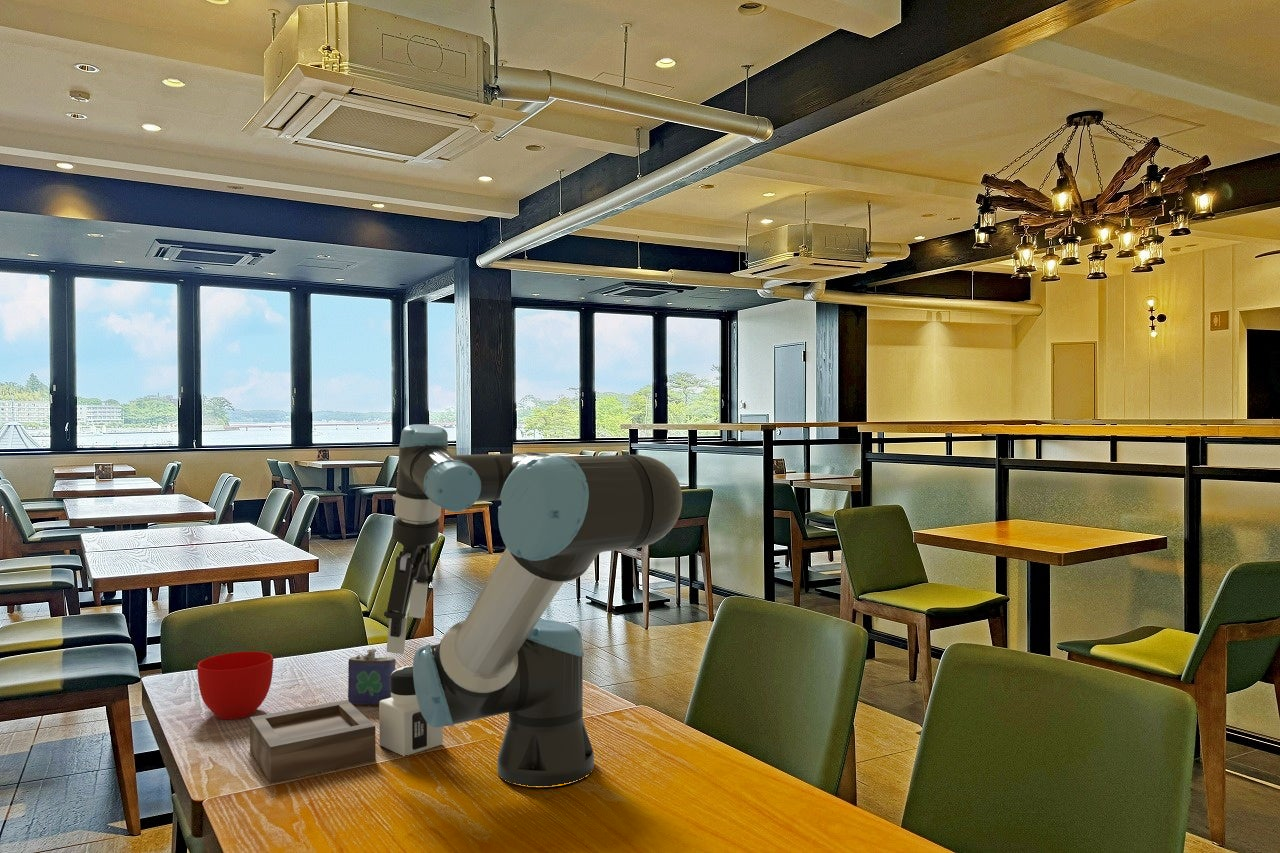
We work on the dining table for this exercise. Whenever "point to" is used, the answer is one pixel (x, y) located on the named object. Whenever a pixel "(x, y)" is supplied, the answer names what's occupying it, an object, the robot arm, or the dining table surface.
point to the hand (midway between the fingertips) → (406, 633)
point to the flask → (369, 679)
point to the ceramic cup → (235, 682)
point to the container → (405, 718)
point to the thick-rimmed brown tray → (311, 740)
